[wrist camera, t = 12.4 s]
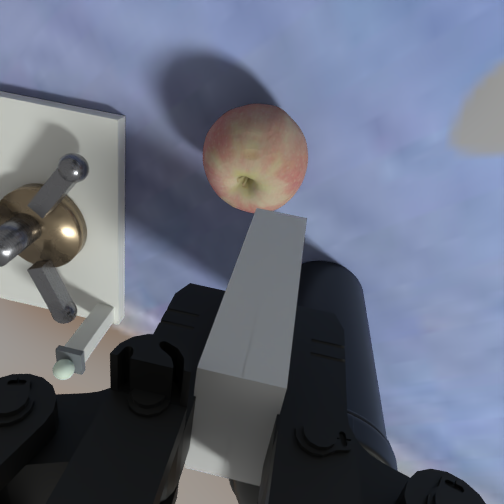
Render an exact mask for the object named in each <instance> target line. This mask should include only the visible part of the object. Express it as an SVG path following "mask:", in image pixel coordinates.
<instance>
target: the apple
mask: <svg viewBox="0 0 504 504" xmlns="http://www.w3.org/2000/svg"><path fill="white" fill-rule="evenodd" d="M307 163H308V150H307V143H306V140H305V137H304V135H303V133H302V131H301V129H300V128H299V126H298V125H297V124H296V122H295V121H294V120H293V119H292V118H291V117H290V116H289V115H288V114H287V113H286V112H285V111H284V110H282V109H281V108H279V107H276V106H273V105H267V104H249V105H245V106H241V107H237V108H234V109H231V110H229V111H227V112H226V113H225V114H223V115H222V116H221V117H220V118H219V119H218V120H217V121H216V122H215V123H214V124H213V125H212V127H211V128H210V130H209V131H208V133H207V136H206V138H205V142H204V147H203V165H204V169H205V173H206V176H207V178H208V181H209V183H210V185H211V187H212V188H213V189H214V191H215V192H216V193H217V195H218V196H219V197H220V198H221V199H223V200H224V201H225V202H226V203H228V204H229V205H231V206H232V207H234V208H237V209H240V210H242V211H246V212H250V213H255V211H256V208H260V209H265V210H269V211H273V210H276V209H278V208H280V207H281V206H283V205H284V204H285V203H287V202H288V201H289V200H290V199H291V198H292V197H293V196H294V194H295V193H296V192H297V190H298V189H299V187H300V186H301V184H302V182H303V179H304V176H305V173H306V169H307Z"/></svg>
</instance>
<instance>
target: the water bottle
mask: <svg viewBox="0 0 504 504" xmlns="http://www.w3.org/2000/svg"><path fill="white" fill-rule="evenodd" d="M297 305H298V306H302V307H307V308H311V309H316V310H320V311H325V312H329V313H334V314H335V315H336V316H337V318H338V320H339V322H340V323H341V325H342V327H343V328H344V337H345V347H344V349H345V364H346V390H347V416H348V422H349V426H350V428H351V430H352V431H353V433H354V435H355V438H356V439H357V441H358V442H359V444H360V445H361V446H362V447H363V448H364V449H365V450H366V451H367V452H368V453H369V454H370V455H372V456H373V457H375V458H376V459H378V460H379V461H381V462H382V463H384V464H386V465H388V466H389V467H391V468H393V469H395V470H397V463H396V458H395V455H394V453H393V450H392V448H391V445H390V443H389V441H388V440H387V437H386V430H385V424H384V418H383V412H382V406H381V399H380V393H379V387H378V381H377V375H376V369H375V362H374V356H373V350H372V344H371V338H370V331H369V325H368V319H367V313H366V307H365V300H364V294H363V289H362V287H361V284H360V282H359V281H358V279H357V278H356V277H355V276H354V275H353V274H352V273H351V272H350V271H349V270H347V269H346V268H344V267H342V266H340V265H338V264H335V263H331V262H326V261H311V262H306V263H303V264H301V272H300V281H299V289H298V298H297ZM397 471H398V470H397ZM229 481H230V485H231V487H232V490H233V492H234V494H235V495H236V497H237V500H238V503H239V504H257V502H258V497H259V490H260V486H257V485H253V484H249V483H245V482H241V481H237V480H233V479H229Z"/></svg>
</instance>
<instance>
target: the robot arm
mask: <svg viewBox="0 0 504 504" xmlns="http://www.w3.org/2000/svg"><path fill="white" fill-rule="evenodd" d="M306 221H307V218H303V217H298V216H293V215H288V214H284V213H279V212H274V211H269V210H265V209H260V208H256V211H255V213H254V216H253V219H252V221H251V224H250V227H249V229H248V232H247V235H246V237H245V240H244V243H243V246H242V248H241V251H240V254H239V256H238V259H237V262H236V264H235V267H234V270H233V272H232V275H231V278H230V281H229V283H228V286H227V289H226V291H223V290H219V289H214V288H210V287H205V286H201V285H196V284H191V283H190V284H188V285H187V286H186V287H184V288H183V289H181V290H180V291H178V292H177V293H175V295H174V297H173V299H172V301H171V303H170V304H169V306H168V309H167V311H166V312H165V314H164V315H163V317H162V319H161V323H159V325H158V327H157V328H156V330H155V332H154V334H146V335H141V336H135V337H132V338H130V339H128V340H126V341H124V342H122V343H120V344H119V345H118V346H117V347H116V348H115V349H114V350H113V351H112V352H111V353H110V371H111V372H110V376H111V388H109V389H106V390H102V391H99V392H92V393H82V394H58V395H56V394H55V391H54V388H53V386H52V385H51V384H50V383H49V382H47V381H46V380H45V379H44V378H42V377H38V376H35V375H31V374H12V375H9V376H5V377H1V378H0V504H175V502H176V499H177V492H178V483H179V479H180V476H181V473H182V470H183V467H184V464H185V468H188V469H193V470H196V471H200V472H204V473H208V474H212V475H216V476H221V477H225V478H229V479H233V480H237V481H241V482H245V483H249V484H253V485H257V486H260V490H259V497H258V502H257V504H486V503H485V502H484V501H483V499H482V498H481V496H480V495H479V494H478V493H477V492H476V491H475V490H473V489H472V488H471V487H470V486H469V485H468V484H467V483H466V482H464V481H463V480H461V479H459V478H457V477H455V476H454V475H452V474H450V473H448V472H444V471H440V470H435V469H427V470H422V471H417V472H416V473H415V474H414V475H413V476H412V477H411V478H409V477H408V476H406V475H404V474H402V473H400V472H398V471H397V470H395V469H393V468H391V467H389V466H388V465H386V464H384V463H382V462H381V461H379V460H378V459H376V458H375V457H373V456H372V455H370V454H369V453H368V452H367V451H366V450H365V449H364V448H363V447H362V446H361V445H360V444H359V442H358V441H357V439H356V438H355V435H354V433H353V431H352V430H351V428H350V426H349V422H348V416H347V390H346V364H345V349H344V347H345V337H344V328H343V327H342V325H341V323H340V322H339V320H338V318H337V316H336V315H335V314H334V313H329V312H325V311H320V310H316V309H311V308H307V307H302V306H298V305H297V298H298V289H299V281H300V272H301V264H302V255H303V247H304V238H305V230H306ZM185 460H186V462H185Z"/></svg>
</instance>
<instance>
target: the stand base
mask: <svg viewBox="0 0 504 504" xmlns="http://www.w3.org/2000/svg"><path fill="white" fill-rule="evenodd" d="M68 153H77V154H79V155H81V156H83V157H84V158H85V159H86V161H87V162H88V165H89V173H88V175H87V177H86V178H85V179H84V180H83V181H81V182H78V183H76V184H75V185H74V187H73V188H72V189H71V190H70V191H69V192H68V194H67V195H66V196H68V197H69V198H70V199H71V200H72V201H73V202H74V203H75V204H76V206H77V207H78V208H79V210H80V211H81V213H82V215H83V217H84V220H85V223H86V227H87V239H86V243H85V245H84V247H83V249H82V250H81V251H80V252H79V253H78V254H77V255H76V256H75V257H74V258H73V259H72V260H71V261H70V262H69V263H67V264H65V265H63V266H60V267H55V268H56V270H57V272H58V274H59V275H60V277H61V279H62V281H63V283H64V285H65V287H66V289H67V291H68V293H69V295H70V296H71V298H72V300H73V302H74V303H75V305H76V306H77V316H81V317H86V319H85V320H84V322H83V323H82V324H81V325H80V327H79V328H78V329H77V331H76V332H75V333H74V334H73V336H72V337H71V338H70V340H69V341H68V342H67V343H66V345H65V346H60V345H59V346H58V347H57V348H56V359H57V362H56V363H55V365H54V367H53V374H54V376H55V377H56V378H57V379H60V380H65V379H68V378H70V377H71V376H72V375H73V373H77V374H83V373H84V371H85V362H86V361H87V359H88V358H89V356H90V355H91V353H92V352H93V350H94V349H95V348H96V346H97V345H98V343H99V342H100V340H101V339H102V337H103V336H104V334H105V333H106V331H107V330H108V329H109V327H110V326H111V324H116V325H119V324H120V322H121V321H122V319H123V318H124V291H125V116H123V115H118V114H113V113H108V112H103V111H98V110H93V109H88V108H83V107H78V106H73V105H68V104H63V103H58V102H53V101H48V100H43V99H37V98H32V97H27V96H22V95H17V94H12V93H7V92H2V91H0V201H1V200H2V198H3V197H4V196H6V195H7V194H8V193H10V192H12V191H14V190H15V189H17V188H19V187H21V186H23V185H26V184H31V183H38V184H45V183H46V181H47V180H48V179H49V178H50V176H51V175H52V174H53V172H54V171H55V170H56V169H57V165H58V161H59V160H60V158H61V157H62V156H63V155H65V154H68ZM32 265H33V264H32V263H30V262H28V261H26V260H24V259H23V258H21V257H20V256H19V255H17V256H16V257H15V258H13V259H12V260H11V261H10V262H8V263H7V264H6V265H4V266H2V267H0V298H3V299H7V300H12V301H16V302H20V303H25V304H30V305H34V306H38V307H42V308H47V309H48V307H47V305H46V303H45V301H44V300H43V298H42V296H41V294H40V292H39V291H38V289H37V287H36V285H35V283H34V282H33V280H32V278H31V276H30V275H29V273H28V271H27V269H29V268H30V267H31V266H32Z"/></svg>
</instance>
